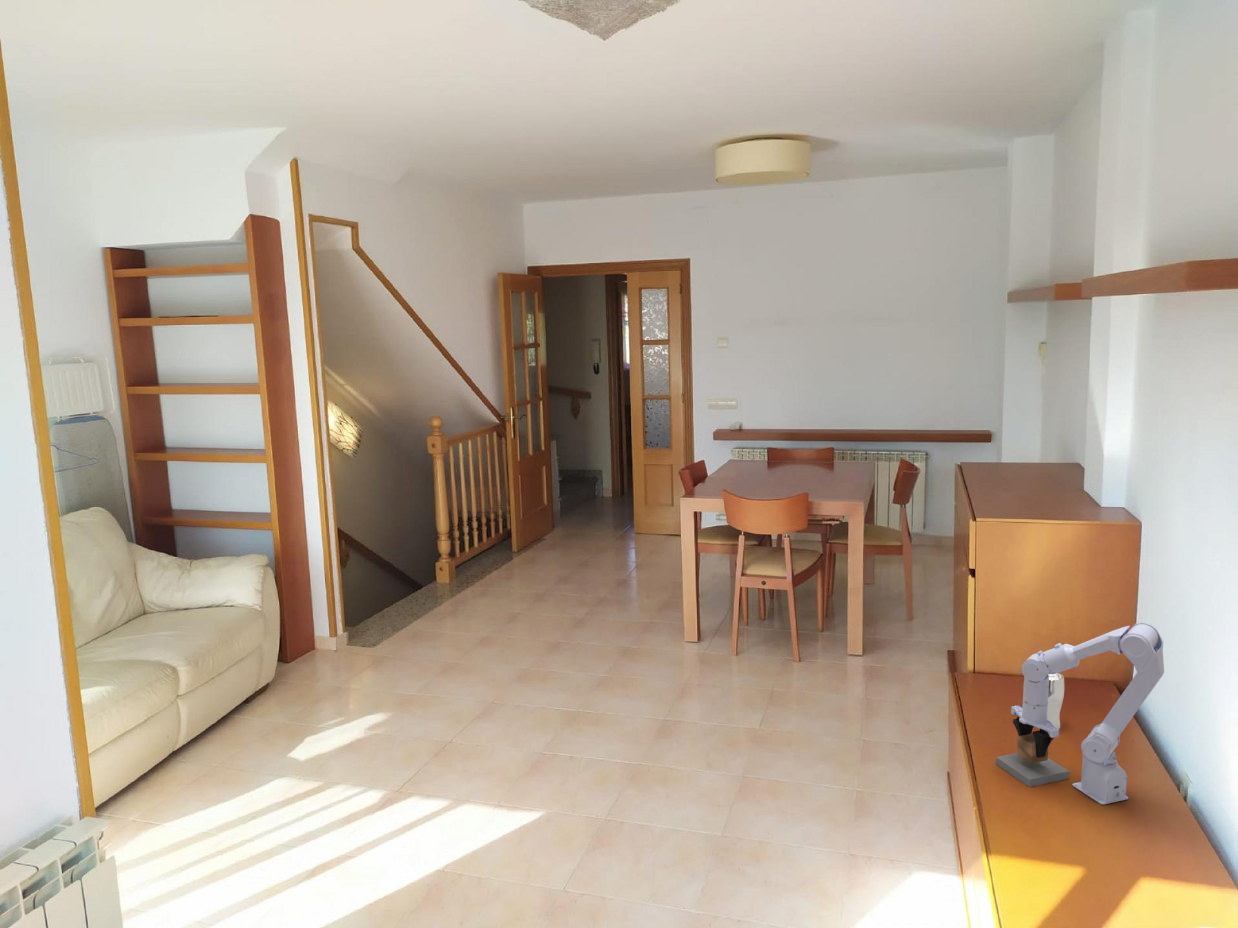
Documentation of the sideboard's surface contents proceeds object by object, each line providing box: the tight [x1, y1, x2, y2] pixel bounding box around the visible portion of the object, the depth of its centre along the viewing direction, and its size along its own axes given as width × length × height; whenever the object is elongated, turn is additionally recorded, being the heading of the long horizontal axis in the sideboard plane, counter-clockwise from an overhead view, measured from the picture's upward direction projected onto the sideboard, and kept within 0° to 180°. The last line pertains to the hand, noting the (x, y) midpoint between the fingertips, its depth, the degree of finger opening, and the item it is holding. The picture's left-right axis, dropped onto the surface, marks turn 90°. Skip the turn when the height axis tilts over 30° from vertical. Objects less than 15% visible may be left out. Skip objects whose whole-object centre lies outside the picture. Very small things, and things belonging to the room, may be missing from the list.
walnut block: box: [1016, 733, 1049, 764], centre depth 226 cm, size 5×5×5 cm
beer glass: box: [1047, 672, 1065, 730], centre depth 250 cm, size 7×7×15 cm
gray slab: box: [995, 752, 1070, 788], centre depth 227 cm, size 12×12×2 cm
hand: (1032, 751), depth 226 cm, fingers closed on walnut block, 5 cm apart
